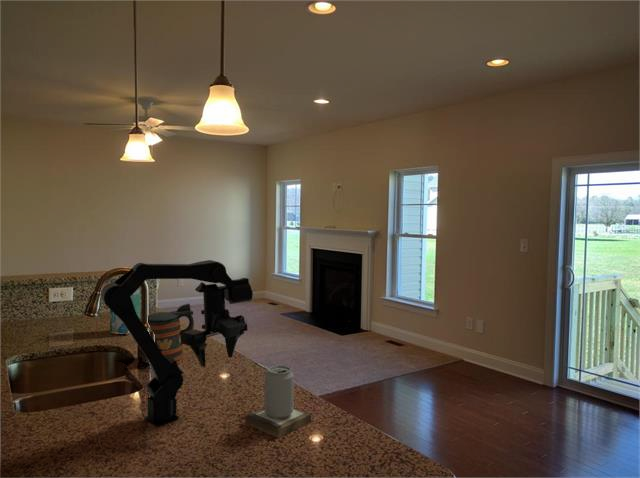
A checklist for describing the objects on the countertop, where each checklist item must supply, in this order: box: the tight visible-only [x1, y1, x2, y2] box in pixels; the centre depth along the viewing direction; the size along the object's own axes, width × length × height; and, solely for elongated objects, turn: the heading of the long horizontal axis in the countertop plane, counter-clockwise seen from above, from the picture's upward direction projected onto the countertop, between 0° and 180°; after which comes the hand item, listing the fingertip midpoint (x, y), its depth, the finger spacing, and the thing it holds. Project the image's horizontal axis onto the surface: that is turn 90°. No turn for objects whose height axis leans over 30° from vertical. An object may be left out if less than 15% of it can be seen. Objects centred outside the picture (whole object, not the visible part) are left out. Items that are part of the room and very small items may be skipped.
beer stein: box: [147, 303, 195, 362], centre depth 173 cm, size 19×15×20 cm
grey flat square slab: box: [244, 407, 312, 439], centre depth 120 cm, size 12×12×3 cm
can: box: [264, 365, 295, 419], centre depth 121 cm, size 8×8×12 cm
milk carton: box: [109, 279, 141, 333], centre depth 209 cm, size 9×9×25 cm
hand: (217, 361), depth 129 cm, fingers open, 9 cm apart
